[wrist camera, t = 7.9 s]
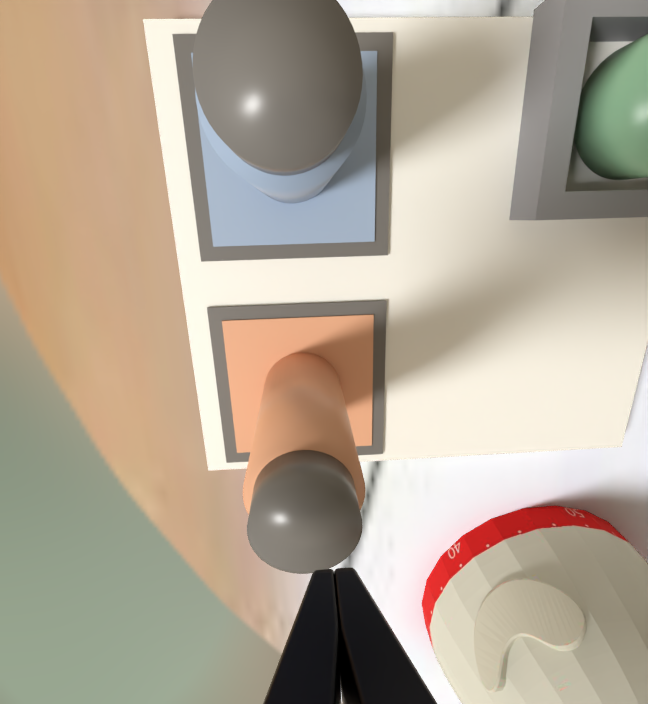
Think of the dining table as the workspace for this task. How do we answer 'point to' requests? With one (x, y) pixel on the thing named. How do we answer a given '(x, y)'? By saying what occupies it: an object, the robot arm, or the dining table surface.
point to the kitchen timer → (541, 611)
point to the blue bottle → (280, 91)
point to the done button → (616, 115)
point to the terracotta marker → (303, 470)
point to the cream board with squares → (425, 245)
